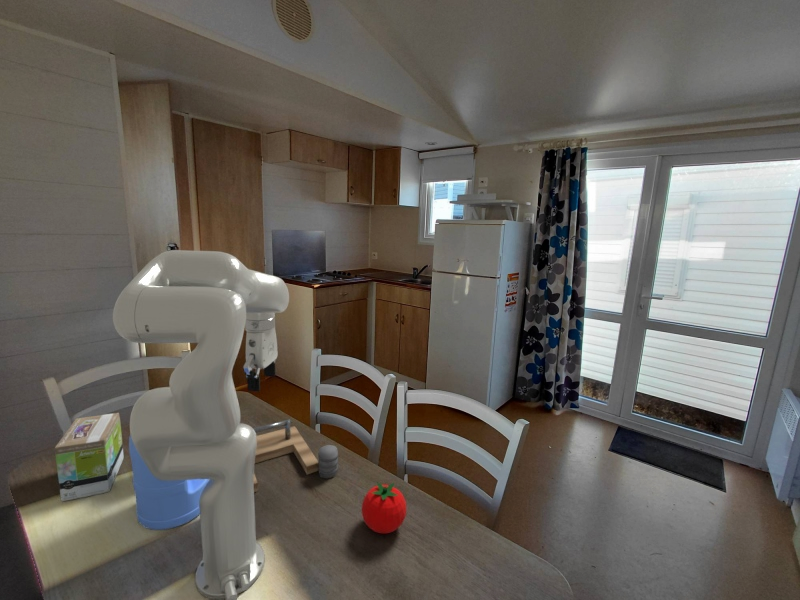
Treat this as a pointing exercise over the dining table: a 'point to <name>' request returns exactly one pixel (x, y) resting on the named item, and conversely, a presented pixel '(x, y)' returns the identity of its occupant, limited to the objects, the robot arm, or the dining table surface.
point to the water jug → (163, 496)
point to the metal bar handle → (275, 425)
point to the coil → (328, 461)
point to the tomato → (384, 508)
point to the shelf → (284, 450)
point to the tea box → (89, 456)
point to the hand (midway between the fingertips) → (262, 383)
